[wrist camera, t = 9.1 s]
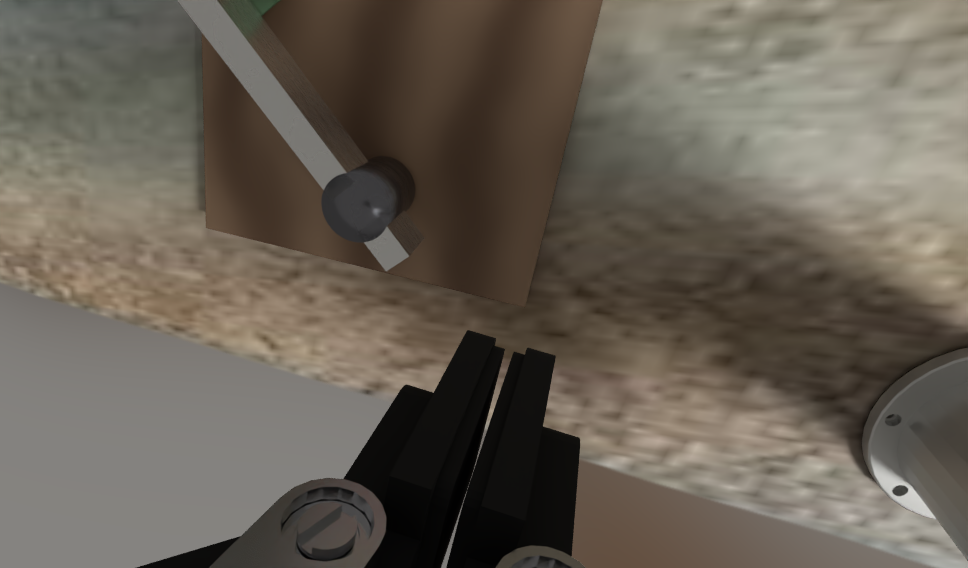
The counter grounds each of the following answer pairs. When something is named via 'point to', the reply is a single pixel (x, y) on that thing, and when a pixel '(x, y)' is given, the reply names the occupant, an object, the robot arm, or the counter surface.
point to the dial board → (412, 129)
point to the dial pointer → (314, 133)
